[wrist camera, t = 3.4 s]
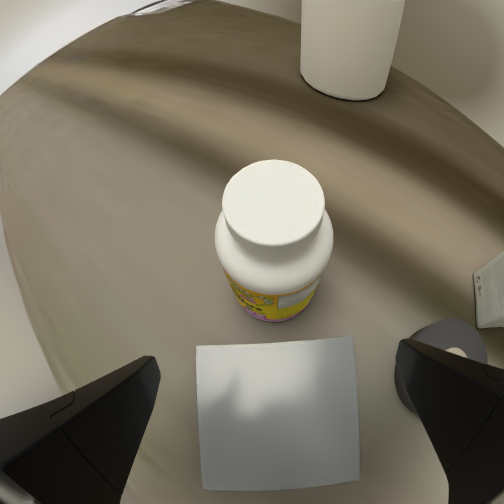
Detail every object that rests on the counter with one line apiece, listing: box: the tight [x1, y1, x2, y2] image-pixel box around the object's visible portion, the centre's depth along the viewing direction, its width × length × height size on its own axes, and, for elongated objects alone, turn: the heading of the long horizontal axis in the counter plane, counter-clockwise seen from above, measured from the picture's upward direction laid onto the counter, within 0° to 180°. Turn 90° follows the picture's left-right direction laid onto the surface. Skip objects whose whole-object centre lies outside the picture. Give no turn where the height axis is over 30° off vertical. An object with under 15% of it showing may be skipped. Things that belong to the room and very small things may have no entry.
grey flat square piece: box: [196, 336, 360, 491], centre depth 20 cm, size 12×12×1 cm
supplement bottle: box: [215, 160, 333, 322], centre depth 19 cm, size 7×7×13 cm
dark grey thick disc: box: [395, 318, 487, 414], centre depth 19 cm, size 8×8×3 cm
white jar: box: [300, 0, 405, 100], centre depth 27 cm, size 12×12×20 cm
